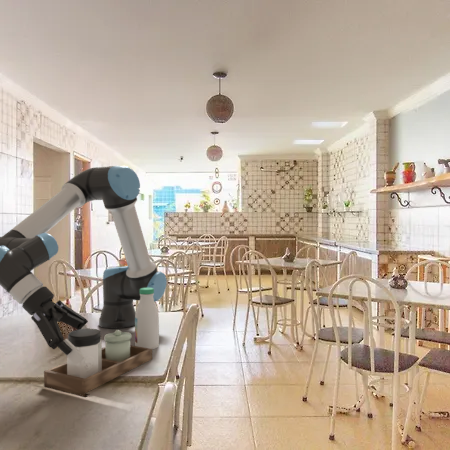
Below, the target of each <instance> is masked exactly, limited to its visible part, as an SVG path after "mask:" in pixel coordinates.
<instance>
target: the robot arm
mask: <svg viewBox="0 0 450 450" xmlns="http://www.w3.org/2000/svg"><path fill="white" fill-rule="evenodd" d="M140 188H141V183H140V179H139V177H138V175H137V173H136V172H135V171H134V170H133V169H132V168H131V167H129V166H125V165H111V166H102V167H100V166H99V167H91V168H88V169H85V170H83V171H81V172H80V173H78V174H77V175H75V176H73V177H72V178H70V179H69V180H68V181H67V182H65V183H64V184H63V185H62V186H61V190H60V191H58V192H57V193H55V195H54V196H52V197H51V198H50V199H49V200H47V201H45V203H43V204H42V205H41V206H40V207H38V208H36V210H34V211H33V212H32V213H31V214H29V215H28V216H26V217H25V218H24V219H23V220H21V221H20V222H19V223H18V224H16V225H15V226H14V227H12V229H10V230H9V231H7V232H6V233H5V234H3V235H2V236H0V286H1V287H2V288H3V289H4V290H5V291H6V292H7V293H8V294H9V295H10V296H11V297H12V299H13V300H14V301H16V302H17V303H18V304H19V305H22V306H21V307H22V308H23V309H24V310H25V311H26V312H27V313H28V315H30V316H31V318H30V319H31V320H32V321H33V322H34V323H35V325H36V326H37V328H38V330H39V331H40V333H41V335H42V336H43V338H44V340H45V342H46V344H47V346H48V347H49V348H51V349H53V350H55V349H57V348H58V349H59V350H61V352H62V353H63V354H64V355H65V356H66V358H67V357H68V358H69V359H70V360H71V361H72V362H73V363H74V364H75V365H78V364H79V363H80V362H81V361H82V360H83V359H84V358H85V356H84V355H83V354H82V353H81V352H80V351H79V350H78V349H77V348H76V347H75V346H74V345H73V344H72V343H71V342H70V341H69V340H68V337H67V338H64V336H63V333H62V330H61V328H60V325H59V323H63V324H64V325H65V324H66V325H68V326H69V327H72V328H74V329H75V330H79V329H91V327H89V325H87V323H88V322H89V321H88V320H87V318H86V317H85V316H82V315H81V314H80V313H78V312H77V311H75V310H74V309H72V308H71V307H69V306H67V305H66V304H65V303H63V301H61V300H58V301H56V303H55V302H54V301H53V299H54V297H55V293H54V292H52V291H51V290H50V289H49V288H48V287H47V286H44V283H43V282H42V280H40V279H39V278H38V277H37V276H36V275H35V274H34V273H33V272H32V271H33V270H34V269H36V268H38V267H39V266H41V265H43V264H44V263H46V262H47V261H50V260H51V258H53V257H55V256H56V255H57V254H58V252H59V245H58V241H57V240H56V238H55V237H54V236H53V235H51V234H50V233H48V232H49V231H50V230H52V228H54V227H55V226H57V225H58V223H60V222H61V221H62V220H63V219H65V218H66V217H67V216H68V215H69V214H70V213H72V212H73V211H74V210H75V209H76V208H80V207H83V206H85V204H87V203H89V202H92V201H102V202H103V205H104V208H105V210H108V211H109V212H110V213H111V217H112V219H113V222H114V226H115V229H116V233H117V236H118V238H119V241H120V244H121V245H120V246H121V247H122V252H123V255H124V257H125V262H126V263H127V264H126V266H116V267H109V268H105V270H104V271H103V275H102V276H103V277H102V294H103V297H102V299H103V301H102V302H103V305H102V310H101V312H100V315H99V317H98V318H99V319H98V326H99V327H101V328H104V329H125V328H130V327H135V313H136V309H135V306H134V301H138V302H139V301H140V289H141V288H153V289H154V295H153V299H154V302H158V301H160V300H161V299H162V297H164V294H165V292H166V288H167V277H166V274H165V273H164V272H162V271H158V269H157V264H156V263H155V262H154V261H151V258H150V255H149V251H148V248H147V244H146V240H145V237H144V234H143V231H142V227H141V224H140V219H139V216H138V214H137V209H136V206H135V204H136V203H137V202H138V196H139V194H140V192H141V191H140Z"/></svg>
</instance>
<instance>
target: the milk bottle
mask: <svg viewBox="0 0 450 450" xmlns="http://www.w3.org/2000/svg"><path fill="white" fill-rule="evenodd" d="M153 295H154V289H153V288H141V289H140V301H139V300H138V304H137V307H136V309H135V312H136V313H135V325H134V346H138V347H143V348H149V349H152V350H154V349H157V348H159V346H160V317H159V309H158V307H157V304H156V303H155V302H154V299H153Z"/></svg>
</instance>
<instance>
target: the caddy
mask: <svg viewBox="0 0 450 450" xmlns="http://www.w3.org/2000/svg"><path fill="white" fill-rule="evenodd" d="M151 360H153V349H149V348H143V347H138V346H135V345H133V344H130V358H128V359H126V360H124V361H122V362H118V361H113V360H107V359H106V353H105V346H104V347H102V371H100V372H98V373H96V374H94V375H92V376H89V377H87V378H80V377H76V376H71V375H67V361H66V362H64V363H60V364H59V365H56V366H54V367H51V368H48V369H46V370H44V371H43V381H44V382H43V388H48V389H51V390H56V391H59V392H64V393H67V394H71V395H74V396H78V397H79V396H80V397H82V398H86V397H88V396H90V391H92V390H94V389H96V388H98V387H100V386H102V385H105V384H106V383H108V382H111V381H112V380H114V379H116V378H118V377H120V376H122V375H124V374H126V373H128V372H130V371H131V370H134V369H136V368H137V367H139V366H141V365H143V364H145V363H147V362H149V361H151ZM88 392H89V393H88Z"/></svg>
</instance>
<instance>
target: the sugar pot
mask: <svg viewBox="0 0 450 450" xmlns="http://www.w3.org/2000/svg"><path fill="white" fill-rule="evenodd" d="M103 339H104V342H105V344H104V345H105V346H104V347H105V353H106V359H107V360H113V361H118V362H122V361H124V360H126V359H128V358H130V345H131V339H132V333H130V332H128V331H121V330H120V329H116V330H115V331H114V332H109V333H107V334H105V335H104V336H103Z"/></svg>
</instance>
